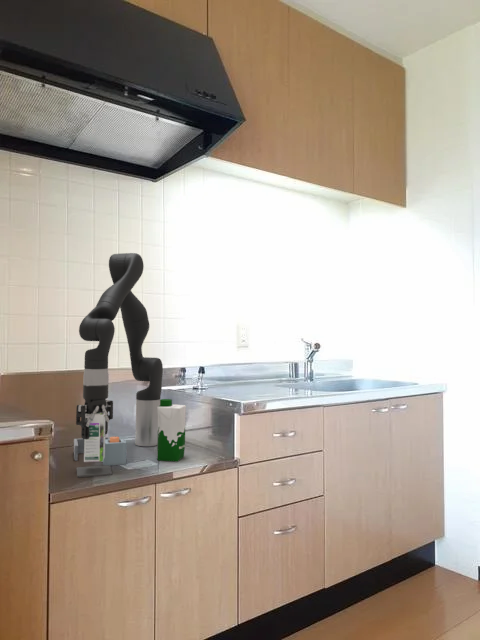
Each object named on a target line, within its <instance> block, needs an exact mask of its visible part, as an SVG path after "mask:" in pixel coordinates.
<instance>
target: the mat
mask: <svg viewBox="0 0 480 640" xmlns="http://www.w3.org/2000/svg"><path fill="white" fill-rule="evenodd" d="M101 476H103V477H104V476H105V477H106V476H113V471H112V469H111V465H104V464H103V465H93V466H91V465H90V466H77V467H76V477H77V478H88V477H101Z"/></svg>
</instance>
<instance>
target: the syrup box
mask: <svg viewBox="0 0 480 640" xmlns="http://www.w3.org/2000/svg"><path fill="white" fill-rule="evenodd" d="M90 415H91V414H87V413H86V414H85V416H90ZM85 422H87V419H85ZM88 427H89V439H84V453H83V463H90V462H91V463H94V462H99V463H100V462H101V463H103V460H104V458H105V437H106V434H105V412H100V413H96V414H95V416H94V419H93V420H92V421H91V422H90V424H89V426H88Z"/></svg>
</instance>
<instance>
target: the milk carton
mask: <svg viewBox="0 0 480 640" xmlns="http://www.w3.org/2000/svg"><path fill="white" fill-rule="evenodd" d="M186 409H187V407H186V405H185V404H178V403H177V404H173V399H169V398H160V406H158V407H157V412H158V443H157V445H156V446H157V450H156V451H157V454H156V455H157V461H161V462H175V463H177V462H179V461H180V460H182V459H183V458H184V457H185V448H186V413H187V412H186V411H187V410H186Z"/></svg>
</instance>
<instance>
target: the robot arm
mask: <svg viewBox="0 0 480 640" xmlns="http://www.w3.org/2000/svg"><path fill="white" fill-rule="evenodd" d="M144 265H145V264H144V259H143V258H142V256H141V255H140V254H138V253H134V252H126V253H113V254H111V255H110V256H109V259H108V268H109V275H110V278H111V279H112V280H111V281H112V283H113V284H112V285H110V286H109V287H108V288H106V289H105V290H104V291H103V293H102V294H101V295H100V298H99V300H98V301H97V303H96V306H95V307H94V308H92V309H91V310H90V312H88V313H87V315H85V317H84V318H83V319H82V321H81V322H80V324H79V327H78V333H79V337H80V338H81V339H82V340H83V341H85V342H98V344H97V346H96V347H95V348H90V349H87V350H86V351H85V352H84V364H83V366H84V370H83V377H82V378H83V379H82V381H83V382H82V383H83V384H82V386H83V387H82V398H83V400H84V404H77V405H76V412H75V413H76V416H75V424H76V426H80V427H81V439H89V427H88V426H89V424H90V422H91V421H92V420H93V419H94V416H95V414H96V413H100V412H105V435H107V434H108V430H109V429H108V428H109V427H108V426H109V422H110V421H111V420H114V419H113V418H114V400H108V398H109V380H110V379H109V375H110V374H109V354H110V350H111V347H112V346H111V345H112V342H113V339H114V336H115V329H116V328H115V325H114V323H113V321H114V320H115V318H116V317H117V316H118V313H119V311H120V313H121V319H122V324H123V327H124V331H125V335H126V340H127V344H128V352H129V358H130V365H131V371H132V372H131V373H132V375H133V378H134V379H135V380H136V381H138V382H149V385H148V386H147V387H146V388H144V389H141V390H138V391H136V393H135V394H136V395H135V437H134V439H135V441H134V442H135V443H134V445H136V446H139V447H155V446H157V443H158V412H157V407H158V406H160V400H161V396H162V395H161V393H162V385H163V370H164V369H163V362H162V360H161V359H160V358H159V357H146V356H145V357H144V356H143V351H142V348H143V344H144V342H145V340H146V337H147V335H148V334H149V331H150V320H149V314H148V311H147V309H146V307H145V305H144V304H143V303H142V301H140V299H139V298H137V297H138V296H136V295H135V294H134V293H133V292H132V290H133V288H134V287H135V285H136V284H137V282H138V281H139V280H140V279H141V277H142V275H143V271H144V268H145V266H144ZM86 413H87V414H91V415H90V416H85V414H86ZM85 419H87V422H85Z"/></svg>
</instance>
